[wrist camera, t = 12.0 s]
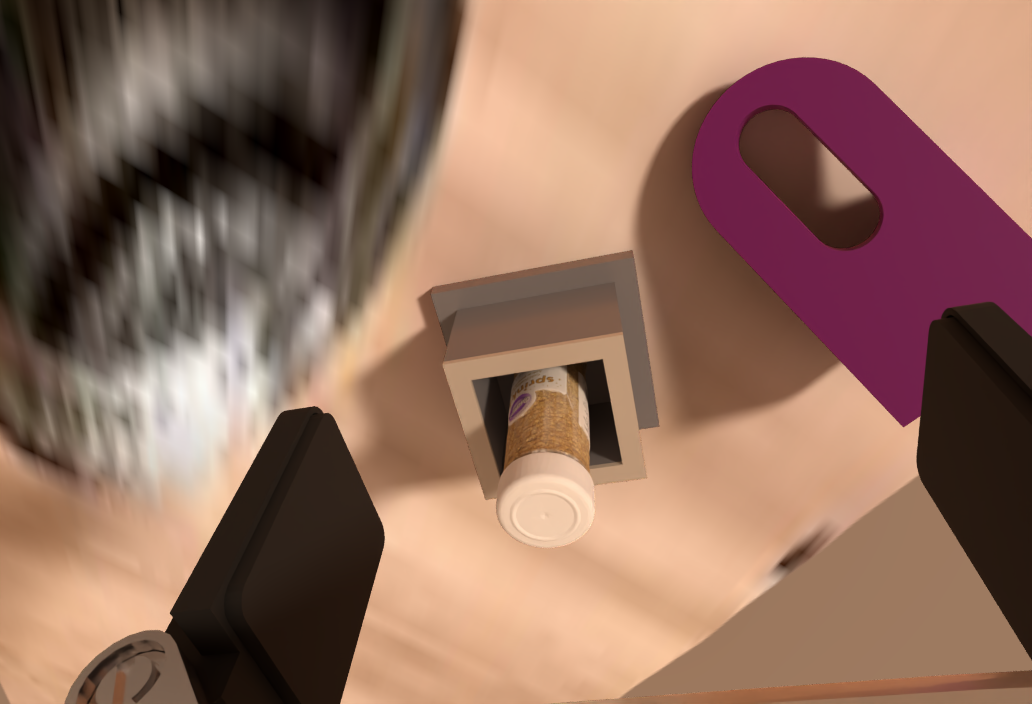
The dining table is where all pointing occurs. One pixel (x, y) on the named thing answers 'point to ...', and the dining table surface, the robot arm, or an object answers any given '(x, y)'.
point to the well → (551, 356)
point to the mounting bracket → (892, 246)
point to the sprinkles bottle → (547, 459)
